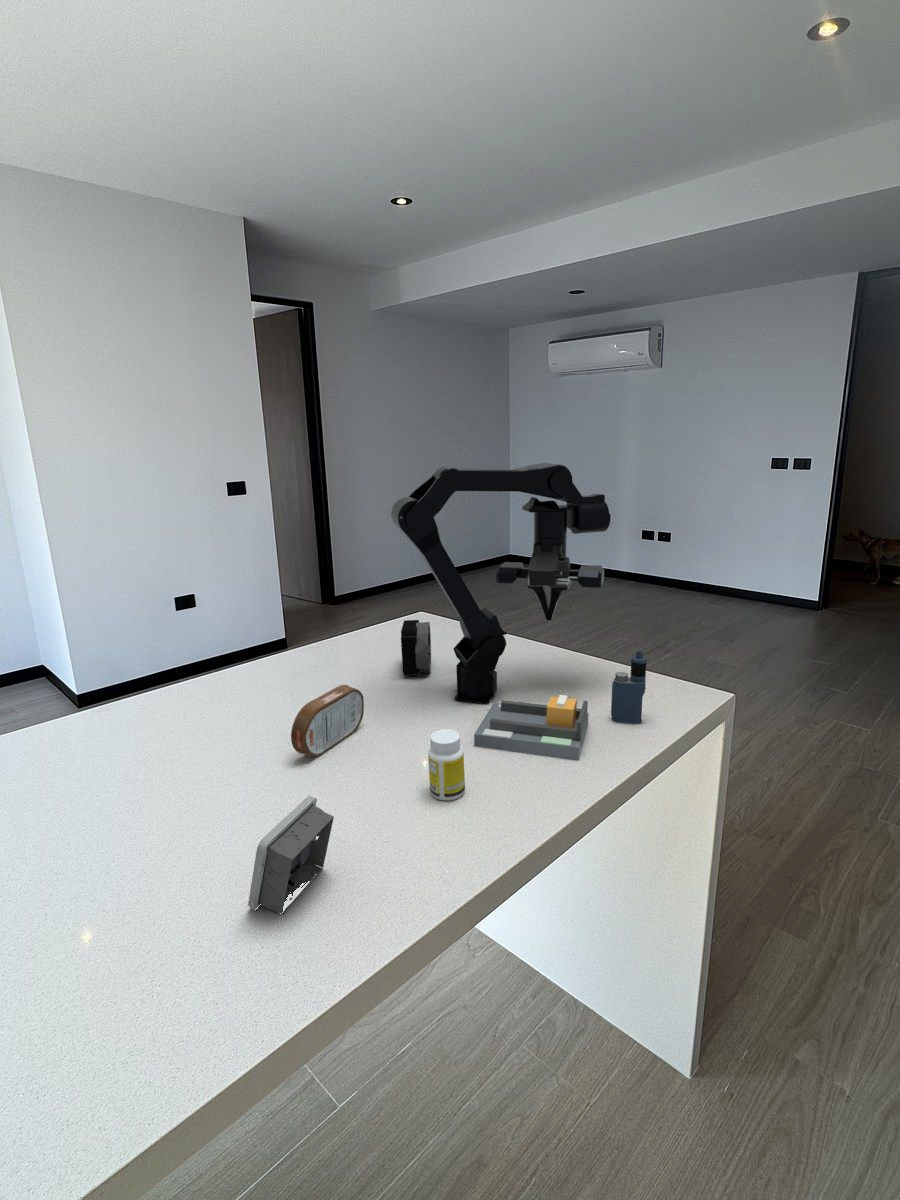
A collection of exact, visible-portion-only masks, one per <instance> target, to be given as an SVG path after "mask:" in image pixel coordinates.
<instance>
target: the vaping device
mask: <svg viewBox="0 0 900 1200" xmlns="http://www.w3.org/2000/svg"><path fill="white" fill-rule="evenodd" d="M643 654H644V653H643V652H642V651H636V652H635V655H632V656H631V659H630V660H631V661H630V662H631V663H630V676H629V674H628V672H625V671H617V672H615V676H614V678H613V681H612V685H611V686H612V687H611V703H610V705H611V708H610V712H611V713H610V715H611V718H612V720H613V722H615V723H618V722H619V723H623V724H642V722H643V721H642V720H643V719H642V716H643V715H642V713H643V709H642V708H643V700H644V699H643V696H644V695H645V693H646V689H647V688H646V682H647V681H646V679H647V678H646V676H647V674H646V673H647V657H646V656H644V655H643Z"/></svg>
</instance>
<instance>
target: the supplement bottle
mask: <svg viewBox="0 0 900 1200" xmlns="http://www.w3.org/2000/svg"><path fill="white" fill-rule="evenodd" d="M429 740H430V741H429V742H430V743H429V744H430V747H429V749H428V752H427V754H428V757H427V758H428V772H429V773H428V777H429V778H428V779H429V791H430V794H431V795H432V797H433V798H434V799H436V800H440V801H455V800H457V799H459V798H461V797H462V796H463V795H464V794H465V790H466V782H465V780H466V779H465V758H464V749H463V747H462V746H461V744H462V743H461V736H460V733H459V732H458V731H457V730H454V729H449V728H448V729H447V728H446V729H445V728H444V729H439V730H438V729H437V730H436V731H434V732H432V733H431V734H430V737H429Z"/></svg>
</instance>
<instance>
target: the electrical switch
mask: <svg viewBox="0 0 900 1200" xmlns="http://www.w3.org/2000/svg"><path fill="white" fill-rule="evenodd" d="M317 802H318V799H317V797H314V796H312V795H308V796H306V798H304V799H303V800H302V801H301V802H300V803H299V804H298V805H296V807H294V809H292V811H290V812H289V813H288V814H287V815H286V816H285V817H284V818H283V819H282V820H281V821H280V822H279V823H278V824H276V825H275V826H274V827H273V828H272V829H271V830H270V831H269V832H268V833H266V834H265V835H264V836H263V837H262V838H261V840H260V841H259V843H258V845H257V847H256V851H255V852H256V853H255V857H254V858H255V859H254V866H253V872H252V878H251V883H250V890H249V896H248V904H247V906H248V907H249V908H250V909H252V911H254V910H255V909H256V908H257V907H258V906H259V905H260V904H261V906H262V907H265V908H266V909H268V910H271V911H273V912H275V913H277V912H278V913H277V914H279V913H281V914H282V912H283V906H284V902H285V901H286V900H287V899H286V898H287V897H288V895H289V894H292V896H293V892H294V891H295V890H296V889H297V888H299V887H300V885H301V884H302V883H305V882H306V883H307V882H308V881H311V880H312V879H313V877H314V876H315V874H317V875H318V874H319V873H320V872H321V871H322V869H323V868H324V865H325V859H326V857H327V856H326V855H327V851H328V847H329V841H330V838H331V837H330V836H331V832H332V828H333V822H334V819H335V817H334V815H331V814H329V813H328V812H325V810H323V809H322V808H320V807H318V806H316V805H317ZM315 877H316V876H315ZM313 880H314V879H313ZM313 880H312V881H313ZM289 881H291V882H292V883H293V884H294V885H292V886H291V885H289V883H288V882H289ZM312 881H311V882H312ZM306 883H305V884H306ZM305 884H304V885H305ZM304 885H303V886H304ZM303 886H302V887H303ZM302 887H301V888H302ZM290 892H291V893H290ZM282 915H283V914H282Z"/></svg>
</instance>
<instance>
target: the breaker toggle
mask: <svg viewBox="0 0 900 1200" xmlns="http://www.w3.org/2000/svg"><path fill="white" fill-rule="evenodd" d="M577 704H578V700H577V698H571V697H569V698H568V695H566V694H559V695H558V696H551V697H550V698H549V701H548V703H547V705H548V706H547V725H550V726H558V727H566V728H575V725H576V711H577V707H578V706H577Z"/></svg>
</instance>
